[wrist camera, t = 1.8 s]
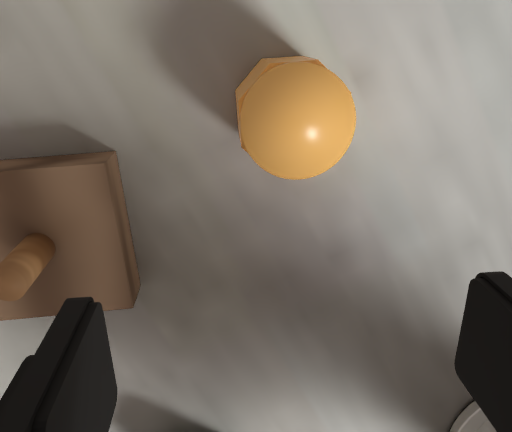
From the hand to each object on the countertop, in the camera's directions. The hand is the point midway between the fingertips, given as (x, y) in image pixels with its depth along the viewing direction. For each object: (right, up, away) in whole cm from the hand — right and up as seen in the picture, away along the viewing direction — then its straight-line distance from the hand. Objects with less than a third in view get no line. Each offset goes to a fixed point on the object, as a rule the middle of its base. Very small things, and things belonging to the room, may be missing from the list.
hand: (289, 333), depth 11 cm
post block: (-15, +2, +19) cm, 24 cm away
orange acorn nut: (+1, +10, +17) cm, 20 cm away
